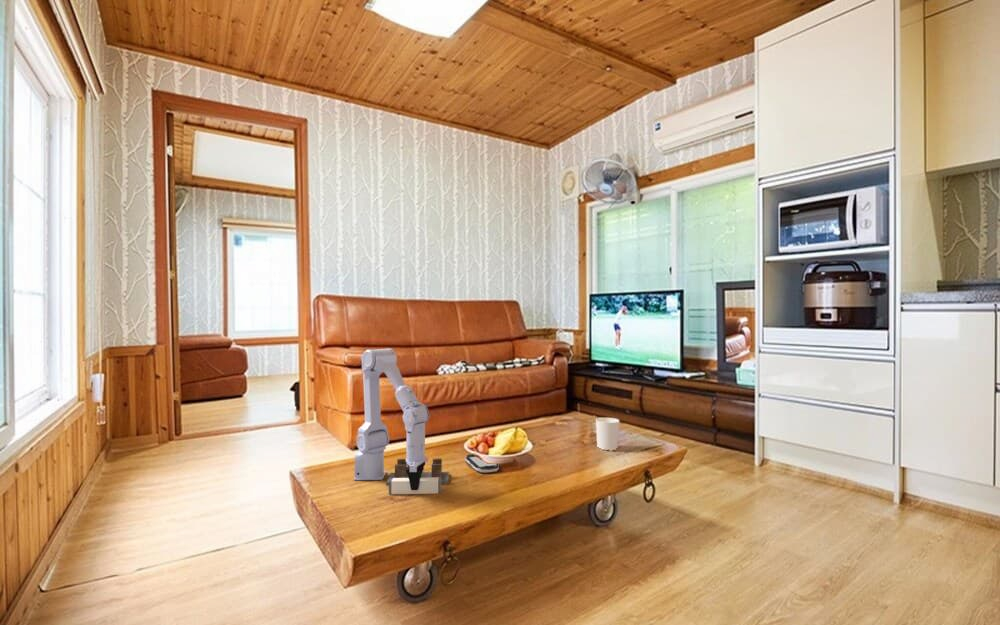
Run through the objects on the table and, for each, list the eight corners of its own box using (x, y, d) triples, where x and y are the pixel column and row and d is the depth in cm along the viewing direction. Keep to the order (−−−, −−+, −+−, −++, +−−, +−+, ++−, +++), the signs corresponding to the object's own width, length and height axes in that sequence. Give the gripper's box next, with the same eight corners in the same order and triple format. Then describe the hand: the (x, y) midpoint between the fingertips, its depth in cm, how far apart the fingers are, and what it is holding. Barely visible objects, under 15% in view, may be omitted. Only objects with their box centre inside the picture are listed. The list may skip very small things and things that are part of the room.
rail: (388, 494, 146) (388, 481, 146) (390, 490, 149) (390, 478, 149) (440, 493, 148) (440, 480, 148) (441, 489, 151) (441, 477, 151)
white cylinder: (592, 445, 202) (592, 417, 202) (614, 445, 203) (614, 417, 203) (599, 452, 192) (599, 422, 192) (622, 451, 194) (623, 422, 194)
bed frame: (386, 485, 154) (386, 466, 154) (390, 475, 163) (390, 458, 163) (448, 483, 156) (448, 465, 156) (448, 474, 165) (449, 457, 165)
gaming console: (462, 460, 182) (462, 453, 182) (484, 457, 186) (484, 451, 186) (478, 476, 164) (478, 469, 164) (502, 473, 168) (502, 466, 168)
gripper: (426, 450, 142) (426, 496, 142) (430, 438, 156) (429, 479, 156) (402, 451, 141) (402, 496, 141) (408, 438, 155) (408, 479, 155)
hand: (415, 487), depth 148 cm, fingers closed on rail, 3 cm apart
